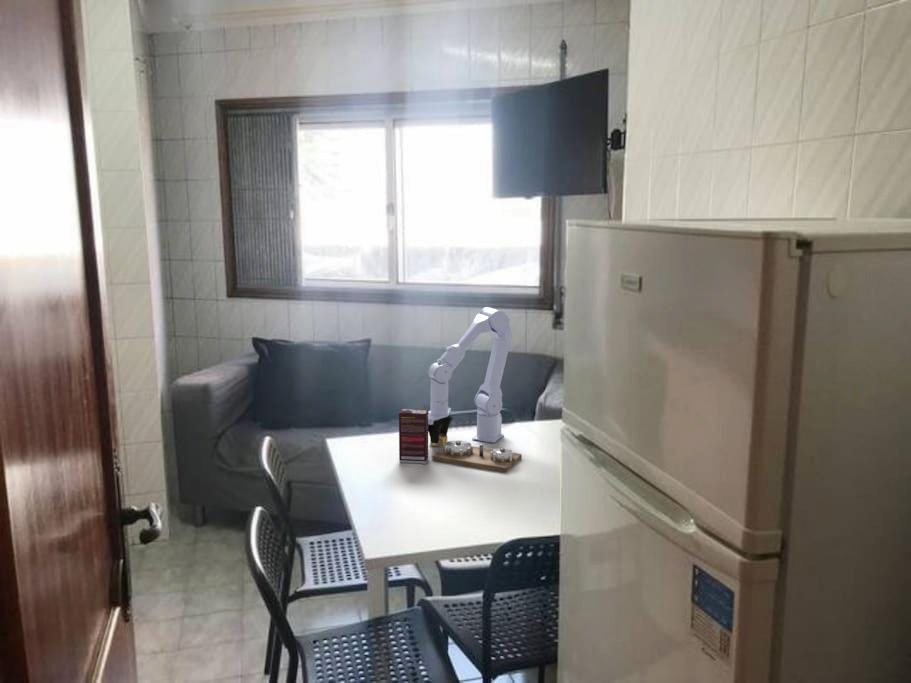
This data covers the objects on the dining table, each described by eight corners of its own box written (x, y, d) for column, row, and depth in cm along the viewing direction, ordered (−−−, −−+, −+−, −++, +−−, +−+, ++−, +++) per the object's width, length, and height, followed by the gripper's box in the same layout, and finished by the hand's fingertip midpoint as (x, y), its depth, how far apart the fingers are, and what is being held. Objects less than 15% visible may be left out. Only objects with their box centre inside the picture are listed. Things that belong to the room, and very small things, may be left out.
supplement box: (428, 459, 233) (429, 409, 230) (426, 464, 228) (427, 413, 225) (401, 457, 234) (401, 408, 231) (398, 462, 229) (398, 412, 226)
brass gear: (434, 440, 251) (434, 431, 250) (450, 443, 249) (450, 434, 248) (427, 445, 246) (427, 436, 245) (442, 448, 243) (443, 439, 243)
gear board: (451, 447, 244) (451, 432, 243) (521, 458, 235) (521, 442, 234) (432, 460, 232) (432, 444, 231) (505, 472, 222) (506, 456, 221)
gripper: (437, 393, 253) (437, 432, 255) (418, 403, 239) (417, 444, 242) (457, 396, 250) (456, 435, 252) (438, 406, 237) (437, 447, 239)
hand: (438, 440), depth 247 cm, fingers closed on brass gear, 6 cm apart
